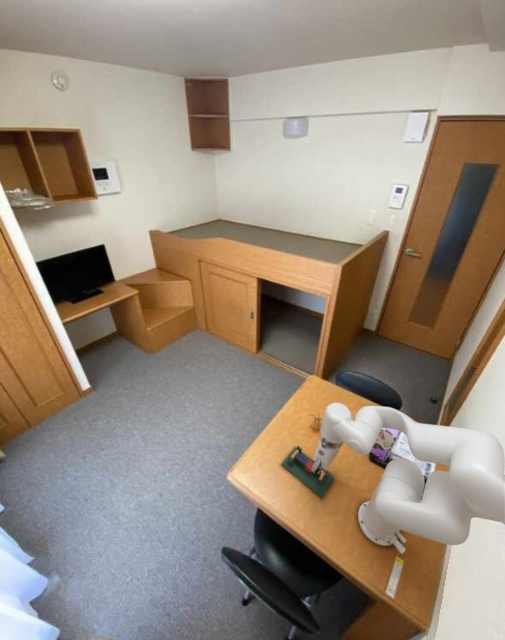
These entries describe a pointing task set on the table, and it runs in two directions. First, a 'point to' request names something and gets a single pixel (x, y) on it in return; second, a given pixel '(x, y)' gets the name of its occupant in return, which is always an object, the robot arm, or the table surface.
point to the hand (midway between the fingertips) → (322, 465)
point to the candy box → (385, 443)
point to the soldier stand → (307, 474)
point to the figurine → (316, 421)
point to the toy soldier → (307, 464)
